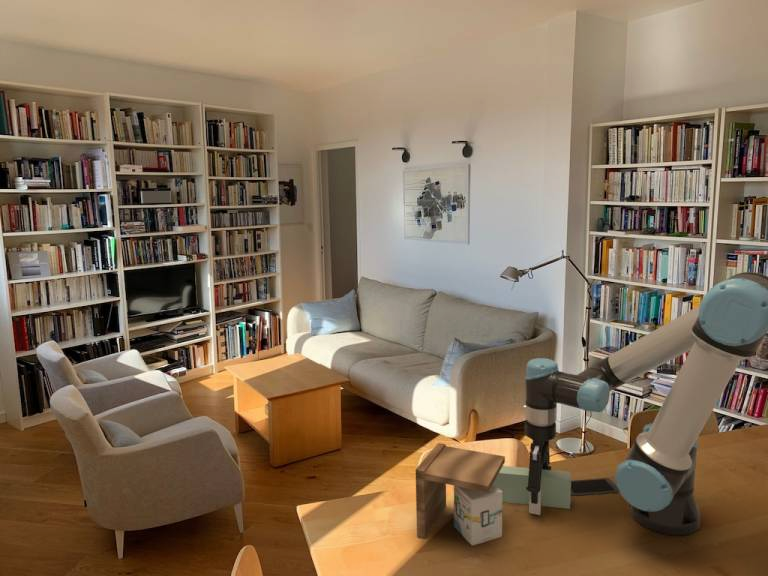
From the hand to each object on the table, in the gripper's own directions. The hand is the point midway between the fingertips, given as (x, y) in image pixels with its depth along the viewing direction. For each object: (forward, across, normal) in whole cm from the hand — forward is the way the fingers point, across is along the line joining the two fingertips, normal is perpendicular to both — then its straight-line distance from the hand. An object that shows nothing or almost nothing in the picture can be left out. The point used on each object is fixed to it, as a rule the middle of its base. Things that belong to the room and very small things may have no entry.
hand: (538, 503), depth 149 cm
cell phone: (+1, -14, +11) cm, 17 cm away
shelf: (0, +18, -15) cm, 23 cm away
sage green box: (0, +4, -5) cm, 7 cm away
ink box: (+1, +18, -11) cm, 21 cm away
